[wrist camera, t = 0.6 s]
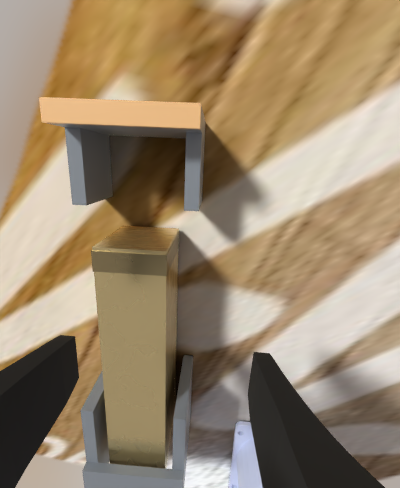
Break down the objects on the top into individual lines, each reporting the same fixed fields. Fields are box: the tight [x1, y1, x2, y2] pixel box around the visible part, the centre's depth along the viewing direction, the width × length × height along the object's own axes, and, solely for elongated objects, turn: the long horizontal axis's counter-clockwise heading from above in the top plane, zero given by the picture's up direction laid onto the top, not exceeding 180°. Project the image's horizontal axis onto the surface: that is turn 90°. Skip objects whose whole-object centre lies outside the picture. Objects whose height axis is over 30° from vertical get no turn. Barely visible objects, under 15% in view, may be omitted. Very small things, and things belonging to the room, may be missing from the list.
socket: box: [39, 97, 206, 211], centre depth 15 cm, size 5×7×6 cm
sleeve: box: [81, 355, 193, 488], centre depth 20 cm, size 7×7×6 cm
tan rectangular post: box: [91, 226, 179, 469], centre depth 19 cm, size 17×4×5 cm, turn 177°
